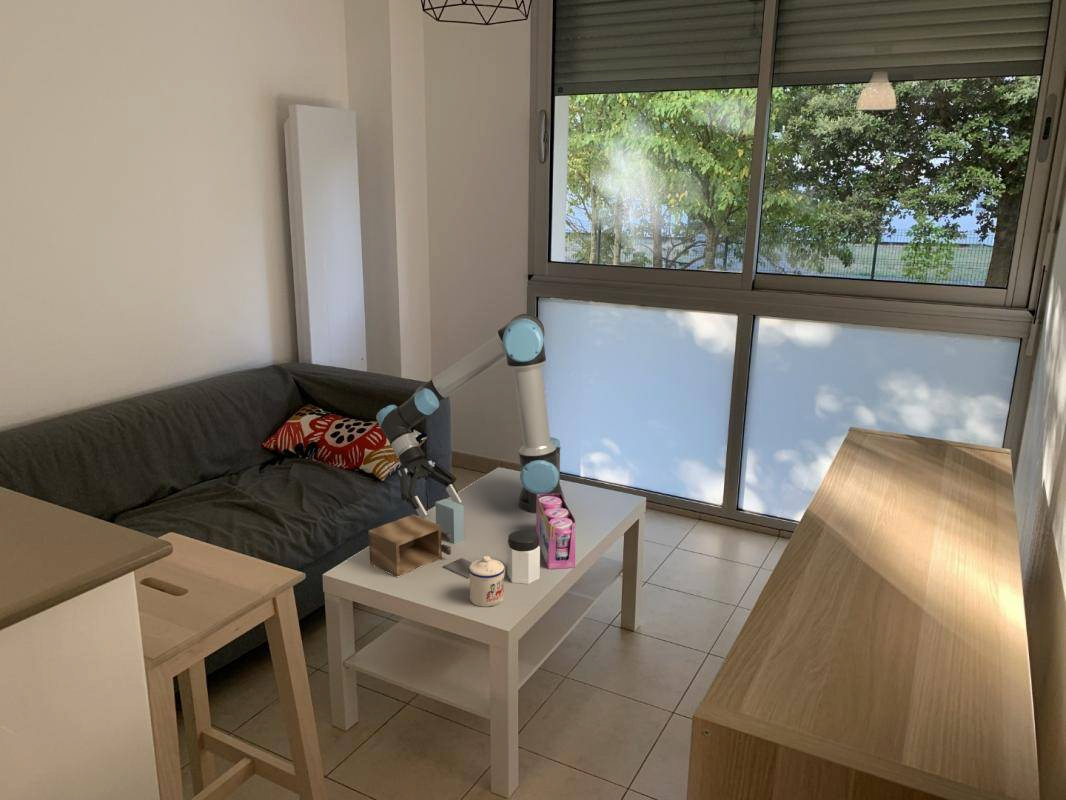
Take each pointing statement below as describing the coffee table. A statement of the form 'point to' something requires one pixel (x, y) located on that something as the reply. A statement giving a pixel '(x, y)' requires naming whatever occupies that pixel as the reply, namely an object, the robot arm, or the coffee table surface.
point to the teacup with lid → (486, 582)
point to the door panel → (451, 519)
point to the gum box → (555, 531)
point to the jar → (523, 557)
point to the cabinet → (411, 546)
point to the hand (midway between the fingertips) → (442, 510)
